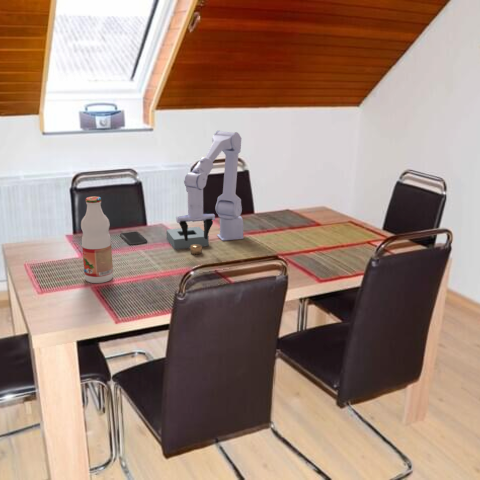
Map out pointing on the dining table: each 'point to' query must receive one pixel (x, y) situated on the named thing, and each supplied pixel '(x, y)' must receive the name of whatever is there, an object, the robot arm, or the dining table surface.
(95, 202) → the fruit juice
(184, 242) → the box
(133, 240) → the phone
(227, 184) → the robot arm
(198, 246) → the disc
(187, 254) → the dining table surface
